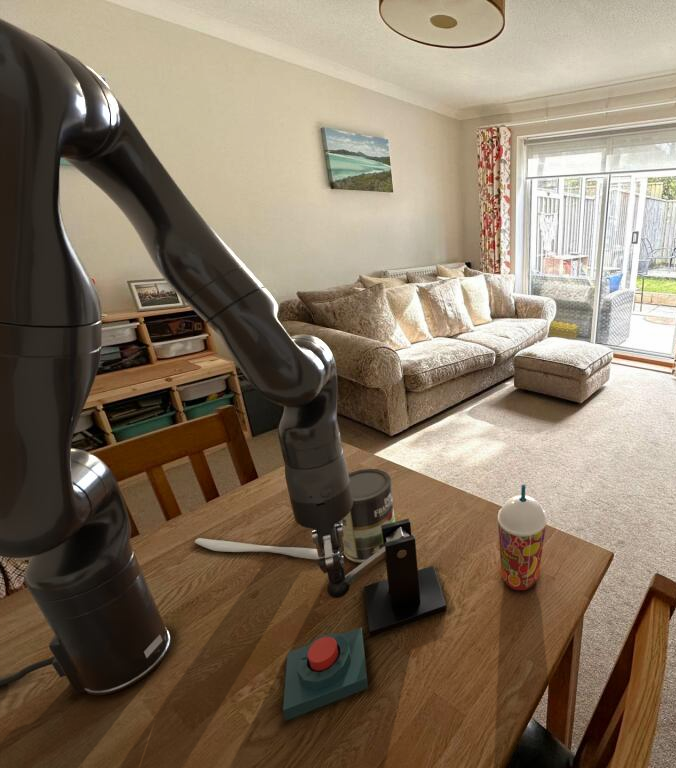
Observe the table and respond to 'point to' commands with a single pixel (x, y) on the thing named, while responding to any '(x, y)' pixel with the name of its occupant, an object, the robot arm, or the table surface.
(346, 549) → the coffee can
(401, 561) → the bracket
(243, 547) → the butter knife
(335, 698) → the button block
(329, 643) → the button
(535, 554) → the smoothie
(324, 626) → the table surface
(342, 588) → the lever
